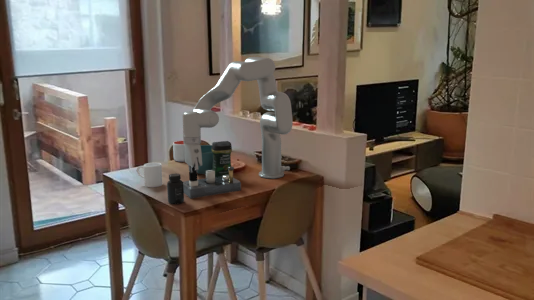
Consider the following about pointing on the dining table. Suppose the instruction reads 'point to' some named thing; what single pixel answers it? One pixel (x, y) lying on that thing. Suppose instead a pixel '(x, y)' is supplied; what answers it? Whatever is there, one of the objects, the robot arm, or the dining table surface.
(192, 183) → the knob far
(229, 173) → the post
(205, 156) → the teal bowl
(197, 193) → the mount
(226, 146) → the coffee jar
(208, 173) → the knob mid
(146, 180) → the mug
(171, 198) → the supplement bottle
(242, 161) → the dining table surface
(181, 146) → the cup
